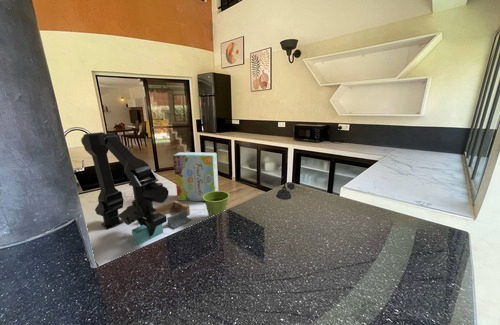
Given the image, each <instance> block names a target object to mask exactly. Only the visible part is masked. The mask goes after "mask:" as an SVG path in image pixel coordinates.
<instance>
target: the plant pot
mask: <svg viewBox="0 0 500 325" xmlns="http://www.w3.org/2000/svg"><path fill="white" fill-rule="evenodd" d="M229 198H230V193H229V192H226V191H223V190H218V191H213V192H209V193H206V194H205V195H203V199H204V201H203V202H204V204H205V207H206V211H207V215H208V218H209V217H211V216H213V215H216V214H218V213H221V212H223V211H224V210H226V211H227V207H228V201H229Z"/></svg>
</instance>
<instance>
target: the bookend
mask: <svg viewBox="0 0 500 325" xmlns="http://www.w3.org/2000/svg"><path fill="white" fill-rule="evenodd" d="M166 219H167V227H169V228H170V229H172V230H175V229H179V228H180V227H182V226H183V225H186V224H188V223H189V222H191V221H192V218H190V217H188V216H187V211H186V210H183V211H181V212H177V213H174V214H172V215H171V216H168V217H166Z"/></svg>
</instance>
